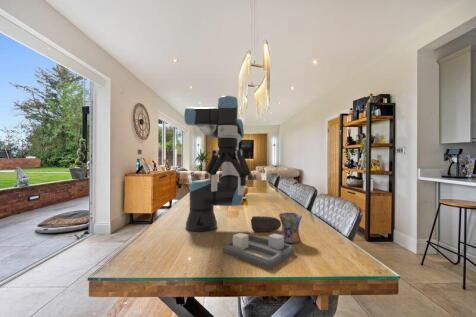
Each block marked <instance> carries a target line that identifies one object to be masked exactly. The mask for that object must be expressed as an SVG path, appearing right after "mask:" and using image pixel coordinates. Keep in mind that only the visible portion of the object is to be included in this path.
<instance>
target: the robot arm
mask: <svg viewBox="0 0 476 317" xmlns="http://www.w3.org/2000/svg"><path fill="white" fill-rule="evenodd" d="M238 103H239V101H238V97H236V96H233V95H222V96H220V97H219V98H218V100H217V107H202V106H200V107H198V106H197V107H196V106H190V107H186V108H184V109H185V110H184V114H183V115H184V116H183V118H184V123H185V124H186V125H187V126H196V127H198V128H199V131H200V132H201V133H202V134H203V135H205V136H208V137H210V138H214V139H217V148H218V150H217V149H213V150H212V151H211V152H212V153H211V158H210V160H209V164H208V166H207V168H206V173H207V174H209V175H210V178H206V179H205V178H204V179H199V180H193V181H192V182H190V185H189V191H188V192H189V212H188V215H187V219H186V221H185V229H186V230H188V231H191V232H206V231H207V232H208V231H213V230H215V229H216V228H217V227H218V221H217V219H216V214H215V211H214V208H215V207H218V206H219V207H220V206H221V207H222V206H223V207H226V206H227V207H234V206H235V207H237V206H241V205H242V203H243V198H244V195H245V186H247V185H246V184H247V183H246V180H247V179H246V177H248V176H251V171H250V168H249V166H248V162H247V161H246V159H245V153H244V150H243V149H239V145H240V144H239V143H240V142H241V141H242V139H243V138H244V135H245V134H244V123H243V120H242V119H240V118H238V114H239V111H238V109H239V108H238V107H239V105H238ZM221 167H222V169H221ZM219 169H221V176H219V178H218V171H219ZM214 206H215V207H214Z"/></svg>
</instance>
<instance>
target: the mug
mask: <svg viewBox="0 0 476 317" xmlns="http://www.w3.org/2000/svg"><path fill="white" fill-rule="evenodd" d="M278 217H279V219H280V222H281V234H280V235H283V236H284V243H286V244H296V243H299V242H301V239H302V238H301V237H300V232H299V231H300V230H299V228H300V223H301V220H302V217H303V216H302V214H300V213H297V212H296V213H295V212H280V213H279V214H278Z"/></svg>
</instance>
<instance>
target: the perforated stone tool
mask: <svg viewBox="0 0 476 317" xmlns="http://www.w3.org/2000/svg"><path fill="white" fill-rule="evenodd" d="M250 222H251V223H250V225H251V230H252V231H253V232H259V233H261V232H273V231H276V230H279V229H280V228H281V227H282V223H281V220H279V219H278V218H276V217H272V216H265V215H264V216H259V215H255V216H254V215H253V216H252V217H251V219H250Z"/></svg>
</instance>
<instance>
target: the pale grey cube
mask: <svg viewBox="0 0 476 317" xmlns="http://www.w3.org/2000/svg"><path fill="white" fill-rule="evenodd" d="M267 239H268V247H271V248H275V249H278V250H281V249H283V248H284V243H285V242H284V236H283V235H281V234H278V233H272V234H270V235H268V237H267Z"/></svg>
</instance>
